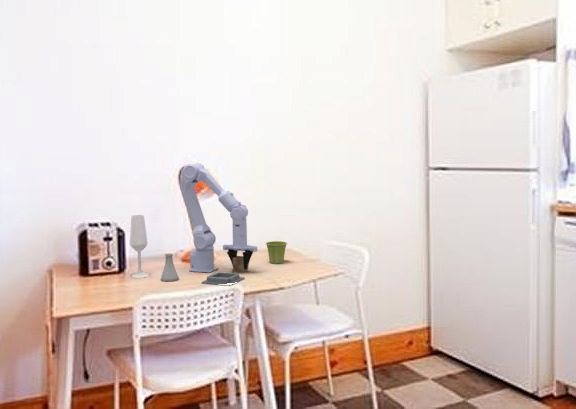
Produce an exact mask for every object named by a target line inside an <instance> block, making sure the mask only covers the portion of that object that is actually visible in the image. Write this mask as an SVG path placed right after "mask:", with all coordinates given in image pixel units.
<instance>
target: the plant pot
mask: <svg viewBox="0 0 576 409" xmlns="http://www.w3.org/2000/svg"><path fill="white" fill-rule="evenodd" d="M265 245H266V248H267V253H268V261H269V263H270V264H274V265H275V264H284V261H285V260H284V259H285V253H286V248H287V245H288V242H287V241H286V242H285V241H282V240H279V241H277V240H276V241H275V240H273V241H267V242H265Z"/></svg>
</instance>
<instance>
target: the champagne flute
mask: <svg viewBox="0 0 576 409" xmlns="http://www.w3.org/2000/svg"><path fill="white" fill-rule="evenodd" d="M130 220H131V221H130V239H129V245H130V246H131V248H132V249H133V250H134V251H136V253H137V269H138V270H137V271H136V272H135V273H134V274H132V275H131V278H135V279H138V278H139V279H141V278H147V277H149V274H148V273H146V272H144V271H142V253H141V252H142V251H143V250H144V249H145V248H146V247H147V246H148V238H147V230H146V228H147V227H146V222H145V215H143V214H134V215H131V217H130Z"/></svg>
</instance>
